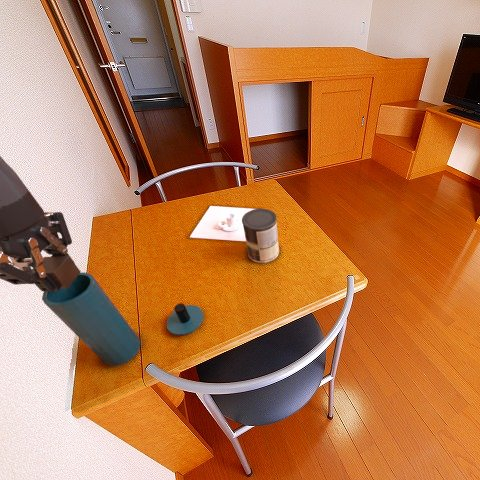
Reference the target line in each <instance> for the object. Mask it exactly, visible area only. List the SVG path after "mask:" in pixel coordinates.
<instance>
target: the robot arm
mask: <svg viewBox="0 0 480 480" xmlns="http://www.w3.org/2000/svg"><path fill="white" fill-rule="evenodd" d="M58 233H59V234H60V236H61V237H60V236H59V234H58ZM72 244H73V240H72V237H71V234H70V231H69V228H68V225H67V222H66V219H65V216H64V214H63V212H61V211H44V209H43V207H42V205H41V204H39V202H38V201H37V199H36V198H35V197H34V195H33V194H32V192H30V190H29V188H28V187H27V186H26V184H25V183H24V182H23V181H22V179H21V178H20V177H19V175H18V174H17V172H16V171H15V170H14V169H13V167H11V166H10V165H9V164H8V163H7V162H6V160H5V159H3V157H2V156H1V155H0V280H3V281H5V282H7V283H9V284H12V285H15V286H17V285H35V286H36V287H37V288H38V289H39V290H40V291H41V292H43V293H44V292H53V291H58V290H59V289H60V286H59V285H58V284H57V283H56V281H55V280H54V279H53V278H52V277H51V276H50V275H49V274H47V272H46V270H45V268H44V266H43V262H44V259H43V258H44V256H43V255H42V251H43V252H45V253H46V254H47V255H48V256H49V255H50V257H57V256H69V257H70V258H71V260H72V261H73V262H74V263H75V261H74V259H73V258H72V257H71V256H70V254H69V253H68V252H69V249H68V248H67V247H68V246H69V245H72ZM9 259H10V260H11V261H10V260H9ZM32 269H34V271H32Z"/></svg>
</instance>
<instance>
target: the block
mask: <svg viewBox="0 0 480 480" xmlns="http://www.w3.org/2000/svg"><path fill="white" fill-rule="evenodd" d="M69 256H70V255H69ZM69 256H57V257H51V256H43V259H44V262H43V266H44V268H45V270H46V272H47V274H49V275H50V276H51V277H52V278H53V279H54V280H55V281H56V283H57V284H58V285H59V286H60V289H68V288H69V286H70V285H71V284H72V282H73V281H74V280H75V279H76V277H77V276H78V275H79V274H80V273H82V272H81V270H80V268H79V266H77V265H76V263H75V261H74V260H73V259H72V260H73V261H74V262H73V261H72V260H71V258H72V257H71V256H70V257H71V258H70V257H69ZM31 269H32V271H34V269H33V268H31Z"/></svg>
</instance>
